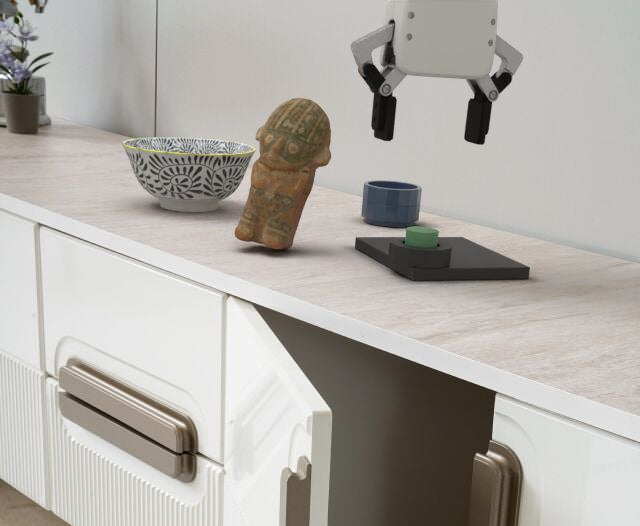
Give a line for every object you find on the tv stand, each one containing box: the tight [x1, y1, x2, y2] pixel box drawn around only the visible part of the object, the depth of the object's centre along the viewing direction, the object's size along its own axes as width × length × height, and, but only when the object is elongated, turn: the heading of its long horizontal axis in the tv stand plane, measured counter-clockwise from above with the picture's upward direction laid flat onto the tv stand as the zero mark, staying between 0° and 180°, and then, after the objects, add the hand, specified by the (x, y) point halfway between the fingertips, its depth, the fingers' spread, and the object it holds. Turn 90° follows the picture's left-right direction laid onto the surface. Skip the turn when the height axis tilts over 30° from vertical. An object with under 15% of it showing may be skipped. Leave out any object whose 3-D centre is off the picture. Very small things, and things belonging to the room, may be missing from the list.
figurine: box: [234, 97, 332, 251], centre depth 116 cm, size 8×8×15 cm
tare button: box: [404, 226, 440, 248], centre depth 111 cm, size 3×3×2 cm
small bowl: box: [360, 179, 423, 228], centre depth 137 cm, size 7×7×4 cm
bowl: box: [121, 136, 257, 213], centre depth 136 cm, size 16×16×8 cm
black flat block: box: [354, 236, 531, 282], centre depth 117 cm, size 14×15×3 cm
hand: (429, 141), depth 108 cm, fingers open, 9 cm apart
